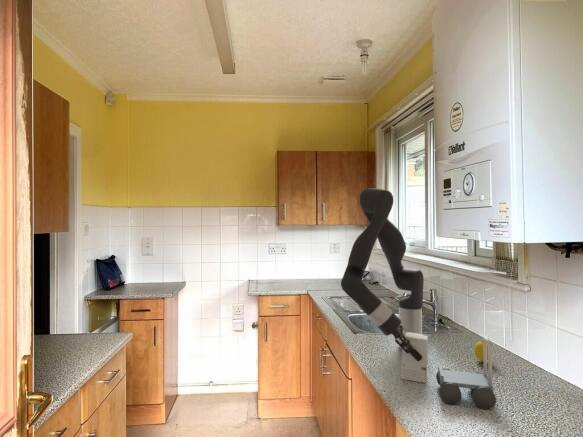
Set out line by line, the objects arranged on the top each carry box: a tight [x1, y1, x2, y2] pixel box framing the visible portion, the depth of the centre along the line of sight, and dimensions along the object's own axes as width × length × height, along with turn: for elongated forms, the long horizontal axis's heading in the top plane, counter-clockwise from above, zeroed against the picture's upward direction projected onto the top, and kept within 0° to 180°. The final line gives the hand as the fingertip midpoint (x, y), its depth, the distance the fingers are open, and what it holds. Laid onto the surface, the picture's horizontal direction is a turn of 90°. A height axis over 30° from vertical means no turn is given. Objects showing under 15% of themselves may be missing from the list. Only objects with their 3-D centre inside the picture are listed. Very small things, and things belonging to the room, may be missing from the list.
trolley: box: [435, 335, 497, 410], centre depth 114 cm, size 12×15×18 cm
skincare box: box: [400, 332, 429, 384], centre depth 127 cm, size 8×6×15 cm
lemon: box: [474, 340, 488, 363], centre depth 141 cm, size 6×6×8 cm
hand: (419, 355), depth 127 cm, fingers closed on skincare box, 6 cm apart
